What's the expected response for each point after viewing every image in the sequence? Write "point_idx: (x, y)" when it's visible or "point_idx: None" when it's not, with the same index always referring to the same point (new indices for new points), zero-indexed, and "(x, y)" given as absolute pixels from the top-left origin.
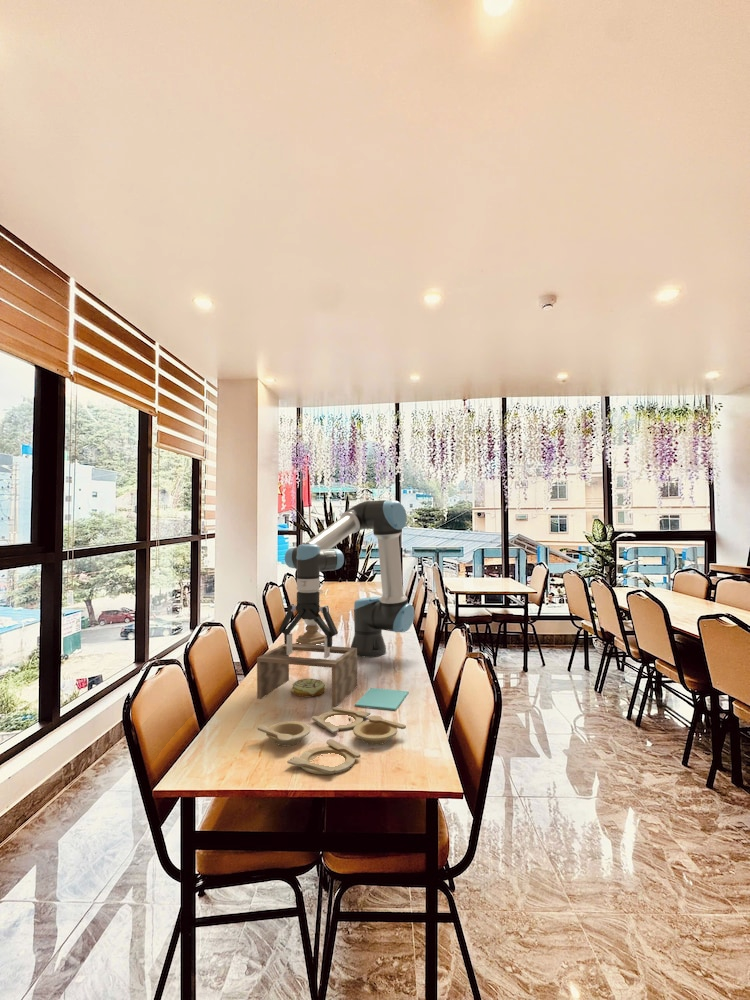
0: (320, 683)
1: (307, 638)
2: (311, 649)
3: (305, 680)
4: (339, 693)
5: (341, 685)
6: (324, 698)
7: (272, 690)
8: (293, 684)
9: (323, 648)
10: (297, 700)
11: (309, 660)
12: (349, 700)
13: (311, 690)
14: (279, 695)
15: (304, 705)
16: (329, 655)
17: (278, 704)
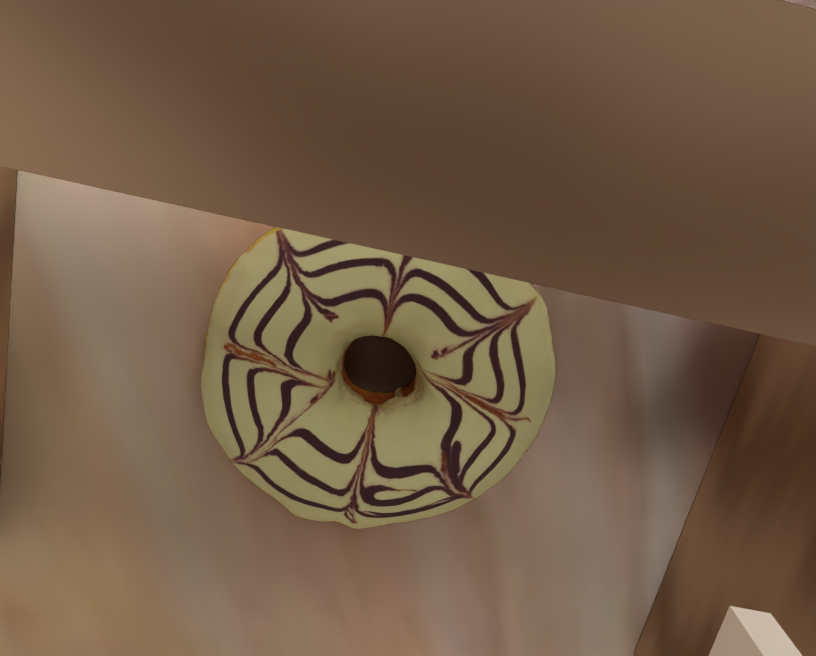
0: (514, 416)
1: None
2: (321, 228)
3: (322, 328)
4: None
5: None
6: (553, 494)
7: (5, 337)
8: (219, 434)
9: (637, 277)
10: (327, 546)
11: None
12: None
13: (437, 514)
14: (126, 442)
15: (412, 639)
16: (772, 632)
17: (198, 630)
